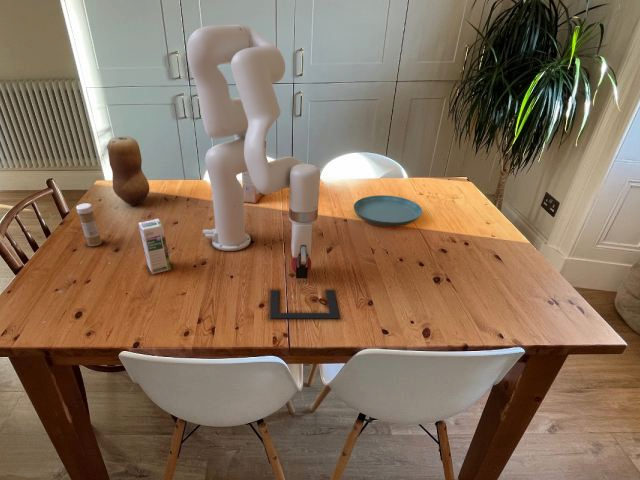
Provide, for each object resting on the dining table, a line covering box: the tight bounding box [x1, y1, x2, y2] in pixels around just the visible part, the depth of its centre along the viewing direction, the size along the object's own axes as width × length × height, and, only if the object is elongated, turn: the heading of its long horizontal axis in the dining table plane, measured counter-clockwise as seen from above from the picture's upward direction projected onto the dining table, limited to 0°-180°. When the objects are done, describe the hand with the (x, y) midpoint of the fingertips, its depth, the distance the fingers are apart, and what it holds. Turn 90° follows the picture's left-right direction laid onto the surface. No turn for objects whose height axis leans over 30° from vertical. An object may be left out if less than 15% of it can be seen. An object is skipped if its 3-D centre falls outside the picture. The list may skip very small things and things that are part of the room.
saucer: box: [353, 194, 423, 228], centre depth 149 cm, size 24×24×3 cm
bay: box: [269, 289, 340, 320], centre depth 106 cm, size 17×12×1 cm
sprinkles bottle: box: [75, 202, 103, 248], centre depth 130 cm, size 5×5×14 cm
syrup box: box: [138, 218, 172, 275], centre depth 117 cm, size 6×6×14 cm
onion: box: [290, 254, 313, 274], centre depth 115 cm, size 6×6×8 cm
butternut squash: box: [106, 136, 150, 207], centre depth 155 cm, size 14×13×25 cm
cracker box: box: [241, 140, 267, 204], centre depth 160 cm, size 14×6×21 cm, turn 164°
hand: (300, 271), depth 117 cm, fingers closed on onion, 6 cm apart
